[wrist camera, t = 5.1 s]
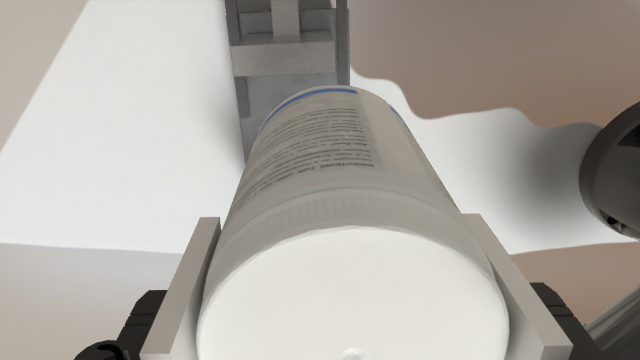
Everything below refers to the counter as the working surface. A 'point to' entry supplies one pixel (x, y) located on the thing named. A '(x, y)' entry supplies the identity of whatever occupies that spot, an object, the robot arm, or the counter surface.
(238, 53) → the sliding jaw
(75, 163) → the counter surface
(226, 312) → the supplement tub
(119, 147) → the counter surface
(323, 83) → the vise
